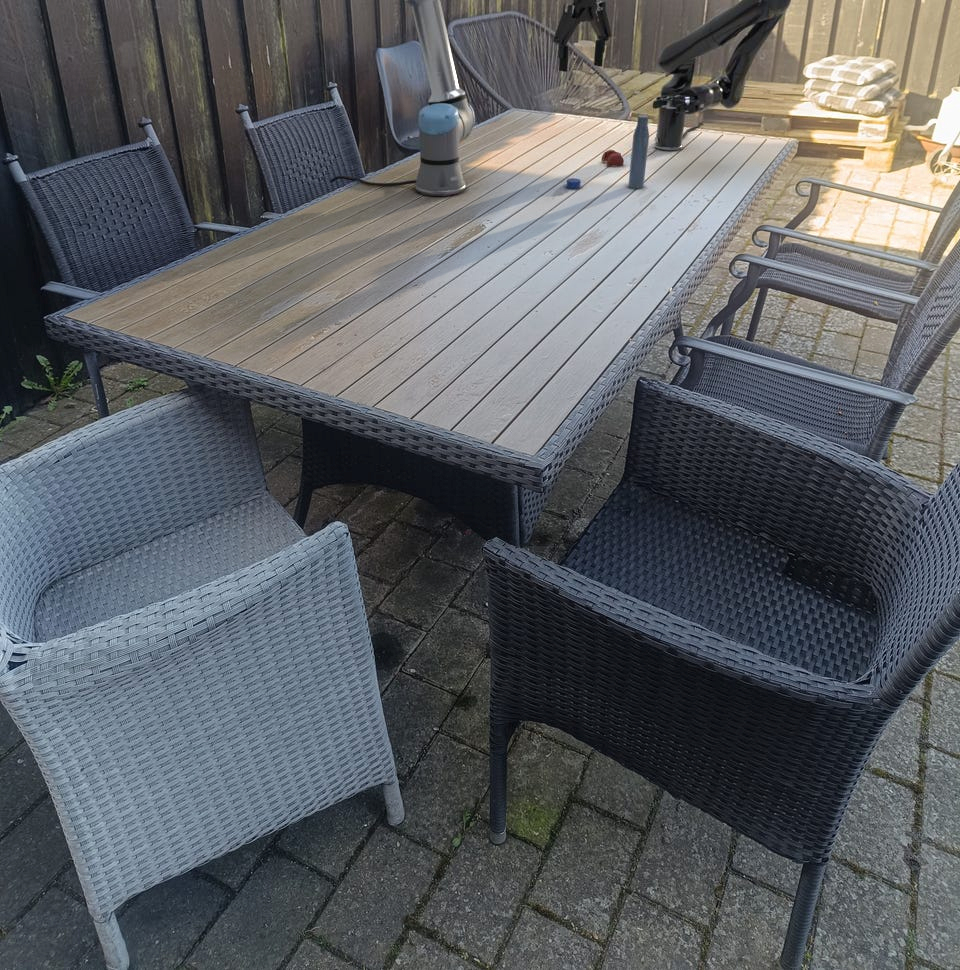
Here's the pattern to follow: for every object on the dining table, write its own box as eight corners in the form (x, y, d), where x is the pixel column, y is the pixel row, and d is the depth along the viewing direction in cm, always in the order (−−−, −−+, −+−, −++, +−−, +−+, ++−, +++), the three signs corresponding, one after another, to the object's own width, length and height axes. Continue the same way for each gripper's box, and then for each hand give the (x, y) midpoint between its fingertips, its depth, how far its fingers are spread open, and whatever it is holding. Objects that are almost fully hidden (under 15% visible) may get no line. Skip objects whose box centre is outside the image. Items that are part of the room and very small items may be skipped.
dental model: (616, 146, 283) (625, 152, 277) (615, 159, 286) (624, 165, 280) (600, 148, 282) (609, 154, 276) (600, 161, 285) (608, 167, 279)
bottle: (624, 186, 262) (631, 115, 250) (636, 183, 264) (643, 113, 252) (635, 189, 258) (642, 118, 247) (646, 187, 261) (654, 116, 249)
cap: (583, 187, 260) (583, 181, 259) (571, 189, 258) (572, 183, 257) (575, 184, 263) (575, 177, 262) (563, 186, 261) (564, 179, 260)
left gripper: (561, -14, 220) (556, 75, 233) (628, -20, 233) (621, 65, 245) (542, -16, 225) (539, 71, 238) (609, -22, 237) (603, 61, 250)
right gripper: (679, 83, 265) (647, 90, 256) (717, 89, 257) (686, 96, 248) (676, 108, 270) (645, 116, 261) (714, 115, 261) (683, 124, 252)
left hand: (580, 68), depth 241 cm, fingers open, 13 cm apart
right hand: (665, 107), depth 254 cm, fingers open, 8 cm apart
